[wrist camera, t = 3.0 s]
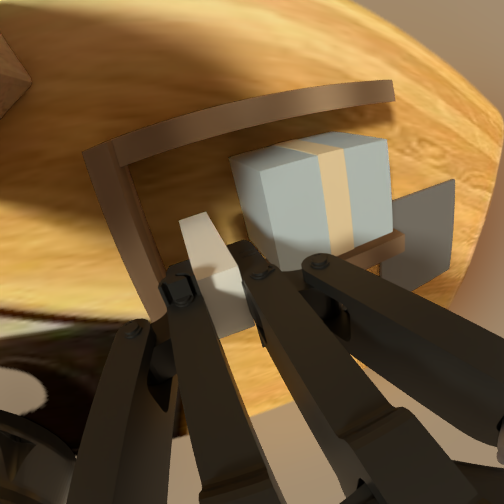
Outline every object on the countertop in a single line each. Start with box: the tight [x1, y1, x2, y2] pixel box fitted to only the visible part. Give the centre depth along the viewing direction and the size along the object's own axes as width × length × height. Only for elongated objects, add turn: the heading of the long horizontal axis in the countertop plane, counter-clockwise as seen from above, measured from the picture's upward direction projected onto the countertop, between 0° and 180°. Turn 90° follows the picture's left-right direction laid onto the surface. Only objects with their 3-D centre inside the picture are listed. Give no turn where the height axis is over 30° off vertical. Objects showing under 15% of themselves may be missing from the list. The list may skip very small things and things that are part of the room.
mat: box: [380, 179, 455, 292], centre depth 29 cm, size 11×11×1 cm
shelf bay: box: [82, 80, 405, 323], centre depth 19 cm, size 18×13×6 cm
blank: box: [228, 131, 393, 271], centre depth 19 cm, size 8×6×6 cm
